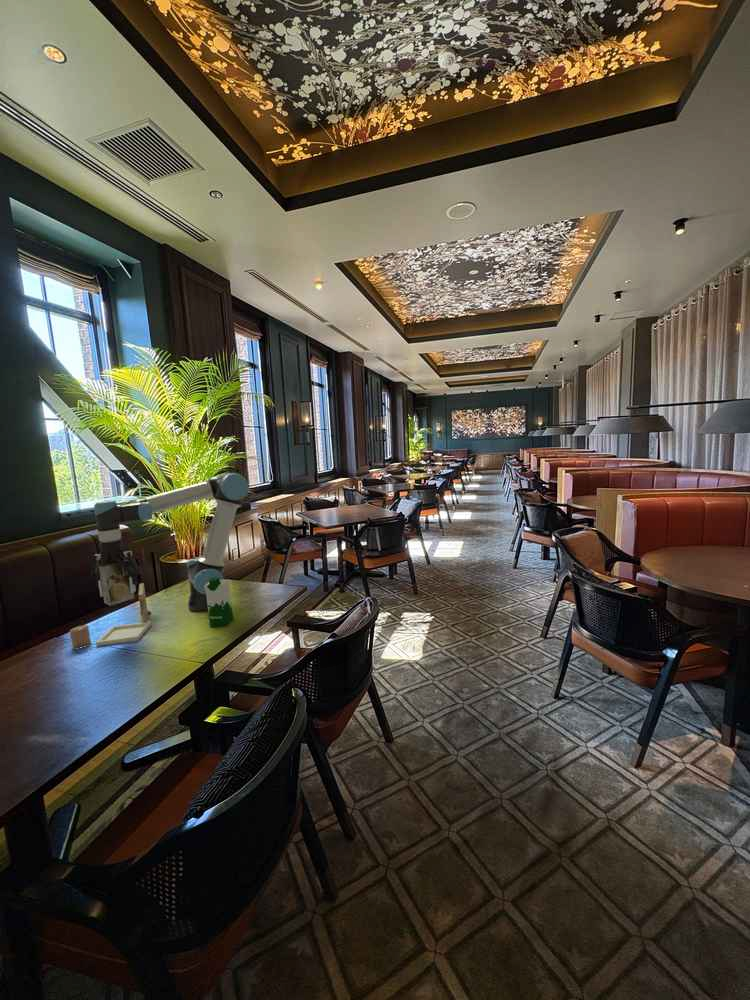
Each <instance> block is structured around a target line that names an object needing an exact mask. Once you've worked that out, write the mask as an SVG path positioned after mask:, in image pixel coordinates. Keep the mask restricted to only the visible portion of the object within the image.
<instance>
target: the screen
mask: <svg viewBox="0 0 750 1000" xmlns="http://www.w3.org/2000/svg"><path fill="white" fill-rule="evenodd" d="M145 590H146V589H145V583H144V582H142V583H139V585H138V602H139V608H140V617H141V621H139V623H142V622H150V621H151V619H148V618H149V617H148V616H149V615H150V614H151V612H152V611H151V609H148V605H147V597H146V591H145Z"/></svg>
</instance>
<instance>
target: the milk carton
mask: <svg viewBox="0 0 750 1000" xmlns="http://www.w3.org/2000/svg"><path fill="white" fill-rule="evenodd" d="M230 587H231V579H229V578H228V579H226V578H225V579H224V578H223V580H220V579H219V578H212V579H210V580H209V583H207V584H206V585H205V586H204V588H205V592H206V597H207V605H208V610H207V612H208V619H209V627H210V628H226V627H227V626H229V625H230V624H231V623H232V622H233V621H234V615H233V607H232V597H231V589H230Z"/></svg>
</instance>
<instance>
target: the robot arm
mask: <svg viewBox="0 0 750 1000" xmlns="http://www.w3.org/2000/svg"><path fill="white" fill-rule="evenodd" d="M249 488H250V487H249V483H248V480H247V479H246V477H244V476H243V475H242V474H240V473H237V472H224V473H221V474H218V475H216V476H212V477H210V478H206V479H205V480H204V482H200V483H196V484H192V485H188V486H185V487H181V488H177V489H173V490H169V491H165V492H162V493H158V494H154V495H149V496H146V497H144V498H139V499H131V500H129V501H128V502H127V503H125V504H118V503H117V501H116V500H103V501H98V502H96V503H95V504H94V506H93V507H94V516H95V523H96V527H97V528H96V529H97V534H98V535H97V536H98V541H99V548H100V552H101V553H100V554H99V553H95V554H94V555H92V557H91V558H92V565H91V570H90V575H89V580H90V581H91V580H94V581H95V584H96V589H99V596H100V598H102V597H103V591H102V585H101V579H100V571H99V567H98V564H100V560H101V559H102V561H103V562H102V563H101V564H107V563H117V562H118V563H120V564H122V566H123V568H124V569H125V570H126V571H127V572H128V573H129V574H130V576H131V577H129V580H130V587H131V593H134V594H135V592H136V591H137V587H136V584H138V577H137V576H139V575H140V574H141V573H142V570H141V568H140V567H139V565H138V563H137V561H136V559H135V557H134V553H133V551H132V550H128V551H124V546H123V539H122V533H121V527H120V525H121V524H126V523H127V524H128V523H136V522H146V521H151V520H153V517H154V516H153V514H157V513H160V512H163V511H167V510H170V509H175V508H177V507H182V506H184V505H188V504H192V503H195V502H198V501H199V502H200V501H202V500H206V499H212V500H214V501H215V502H216V507H215V510H214V515H213V517H212V521H211V524H210V527H209V530H208V535H207V538H206V542H205V546H204V549H203V553H202V556H201V557H197V558H192V559H190V560H189V559H188V560H187V562H186V568H187V574H188V581H189V582H188V583H189V590H190V593H189V598H188V602H187V606H188V607H187V608H188V610H189V611H191V612H204V611H208V605H207V597H206V592H205V588H204V586H205V585H206V584H207V583H209V580H210V579H212V578H219V579H220V580H224V577H223V573H224V570H225V565H226V564H225V562H224V556H225V552H226V549H227V546H228V541H229V538H230V534H231V530H232V527H233V524H234V521H235V516H236V512H237V510H238V508H241V507H242V504H243V501H244V498H245V497H246V496H247V494H248V493H249ZM124 556H125V557H126V558H127V560H129V566H130V567H129V566H128V565H126V564H125V563H123V561H125V560H126V559H125V557H124ZM103 598H104V597H103Z"/></svg>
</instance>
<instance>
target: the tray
mask: <svg viewBox="0 0 750 1000" xmlns="http://www.w3.org/2000/svg"><path fill="white" fill-rule="evenodd" d="M151 626H152V621H151V620H150V622H142V623H140V622H136V623H129V624H128V623H126V624H119V625H112V626H111V627H110V628H109V629H108V630H107V631H106V632H105V633H104V634H103V635H102V636H101V637H99V638H98V640H96V641H95V647H96V646H97V647H103V646H104V645H105V646H108V645H109V646H110V645H118V644H125V643H133V642H139V641H140V639H142V637H143V636H144V635H145V633H147V631H148V630H149V629H150V628H151Z"/></svg>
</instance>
